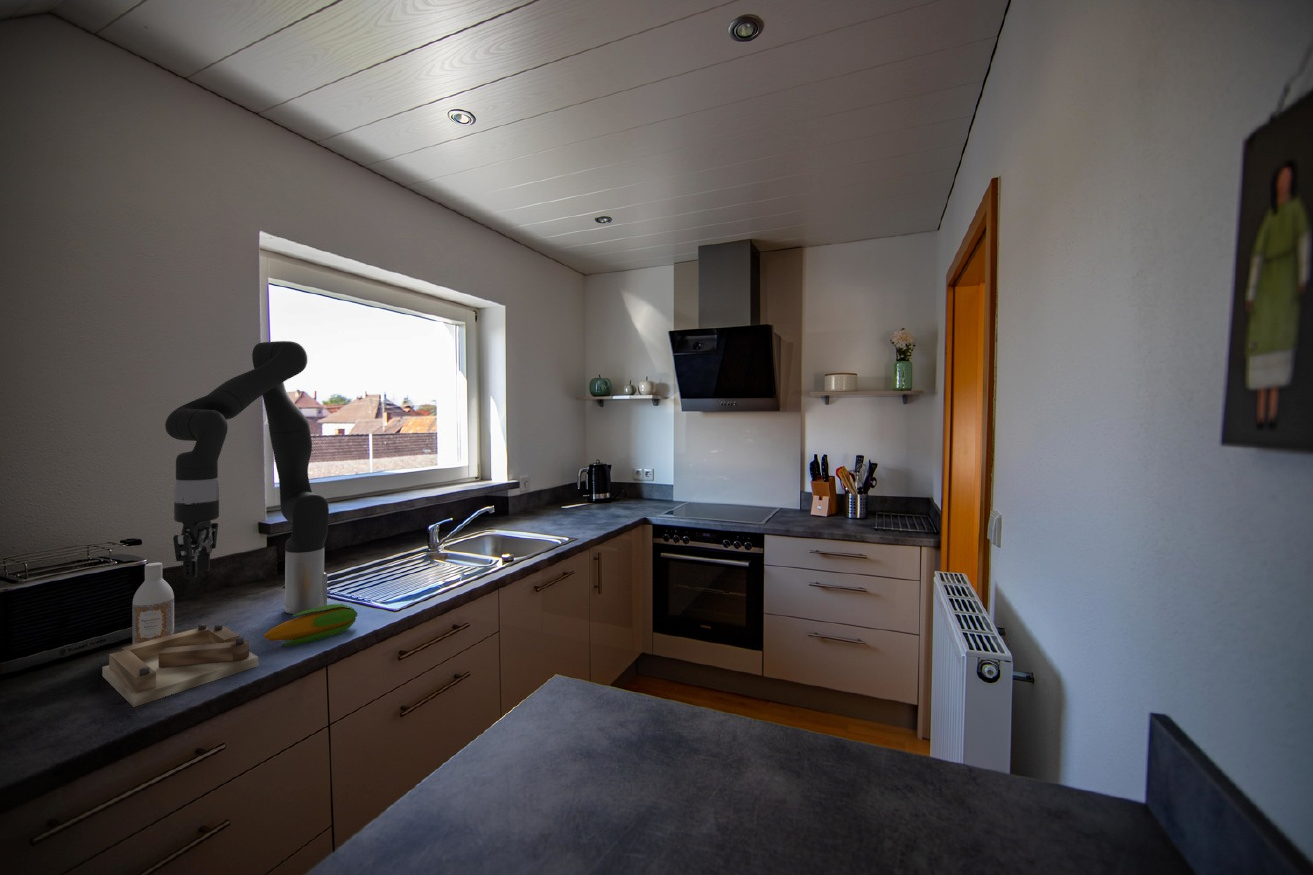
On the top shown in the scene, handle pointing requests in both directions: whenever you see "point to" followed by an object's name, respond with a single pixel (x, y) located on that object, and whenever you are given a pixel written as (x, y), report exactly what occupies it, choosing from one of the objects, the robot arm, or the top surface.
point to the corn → (314, 625)
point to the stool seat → (147, 682)
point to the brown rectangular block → (204, 653)
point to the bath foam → (153, 607)
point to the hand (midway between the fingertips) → (196, 573)
